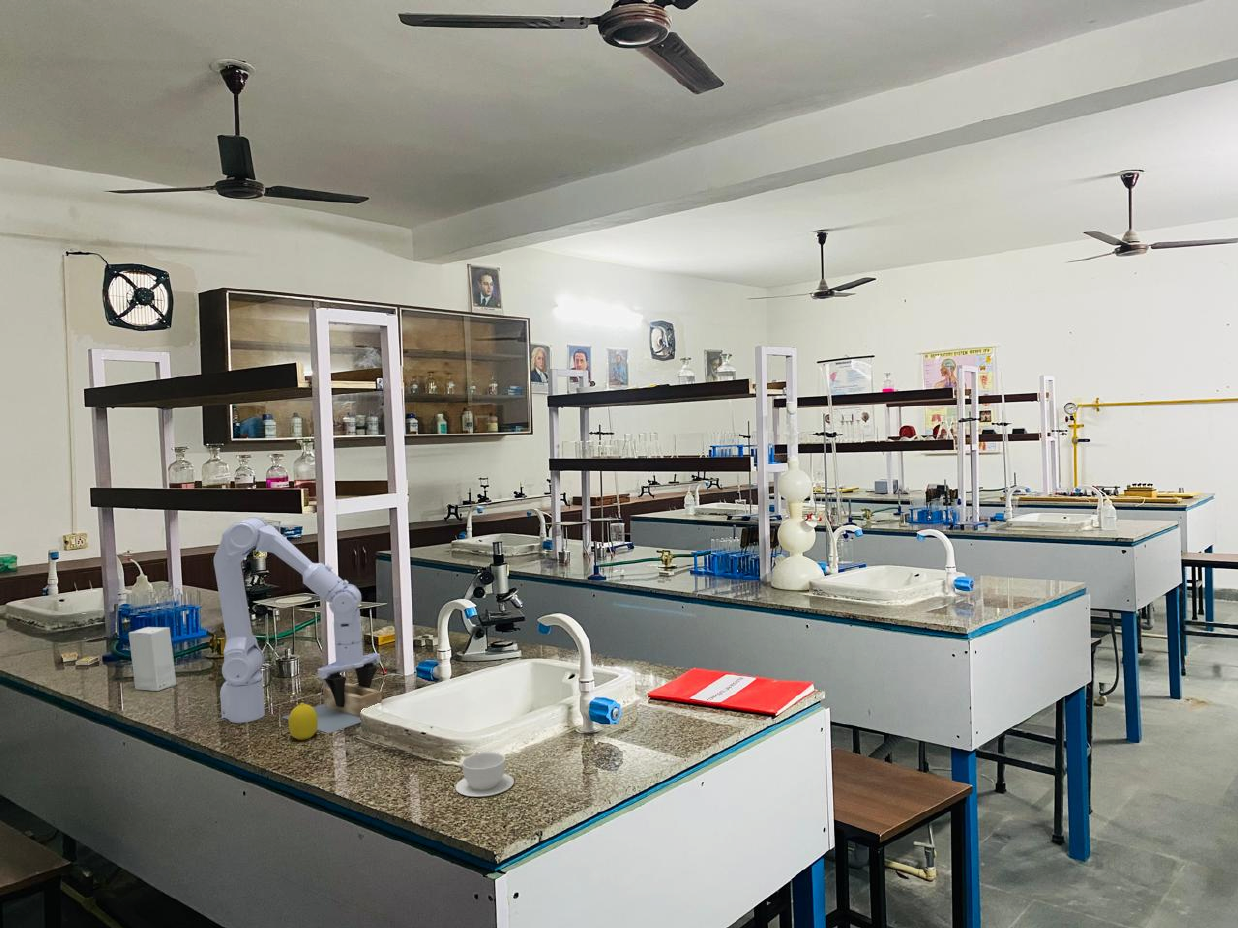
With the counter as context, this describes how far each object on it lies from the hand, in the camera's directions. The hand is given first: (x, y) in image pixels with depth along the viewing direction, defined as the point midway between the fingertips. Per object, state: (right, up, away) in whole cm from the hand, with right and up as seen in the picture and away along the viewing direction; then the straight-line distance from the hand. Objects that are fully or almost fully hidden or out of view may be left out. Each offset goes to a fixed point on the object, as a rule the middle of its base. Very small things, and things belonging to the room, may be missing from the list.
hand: (352, 702), depth 190 cm
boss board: (-2, -3, -3) cm, 5 cm away
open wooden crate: (0, -1, 0) cm, 1 cm away
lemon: (-4, -4, -17) cm, 18 cm away
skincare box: (-58, -4, +27) cm, 64 cm away
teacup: (+36, -3, -42) cm, 55 cm away
